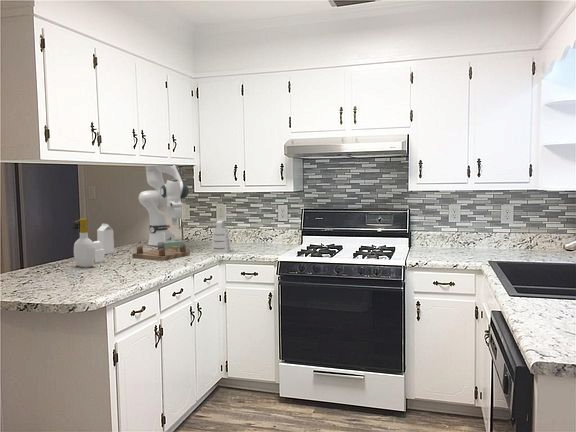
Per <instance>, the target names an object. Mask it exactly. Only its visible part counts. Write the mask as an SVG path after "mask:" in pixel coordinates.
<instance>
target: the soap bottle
mask: <svg viewBox="0 0 576 432" xmlns="http://www.w3.org/2000/svg"><path fill="white" fill-rule="evenodd" d="M87 220H88V219H87V218H79V219H78V220H76V221H75V223H77V222H79V224H80V226H79V238H78V239H77V240H75V242H74V245H73V257H74V261H75V263H76V265H77V266H78V267H81V268H91V267H92V266H93V265H94V264H95V263H94V259H95V246H94V243H93V242H92V241H93V240H92V239H90V238H89V233H88V226H87Z"/></svg>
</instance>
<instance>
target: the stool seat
mask: <svg viewBox="0 0 576 432" xmlns="http://www.w3.org/2000/svg"><path fill="white" fill-rule="evenodd" d="M131 255H132V259H139V260H141V259H143V260H148V259H149V260H150V261H159V262H160V261H161V262H165V261H169V260H173V259H177V258H183V257H188V256H190V255H191V251H190V250H187V245H186V244H185V245H180V248H178V247H175V246H172V247H171V249H165V248H160V249H158V248H157V249H151V250H150V249H149V250H146V251H145V250H144V246H141V245H140V246H136V252H135V253H131ZM164 260H165V261H164Z"/></svg>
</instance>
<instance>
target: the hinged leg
mask: <svg viewBox="0 0 576 432" xmlns="http://www.w3.org/2000/svg"><path fill="white" fill-rule="evenodd" d="M180 245H186V241H185V240H175V241H173V242H158V245H157V249H160V248H165V249H171V247H172V246H175V247H178V249H180Z"/></svg>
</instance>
